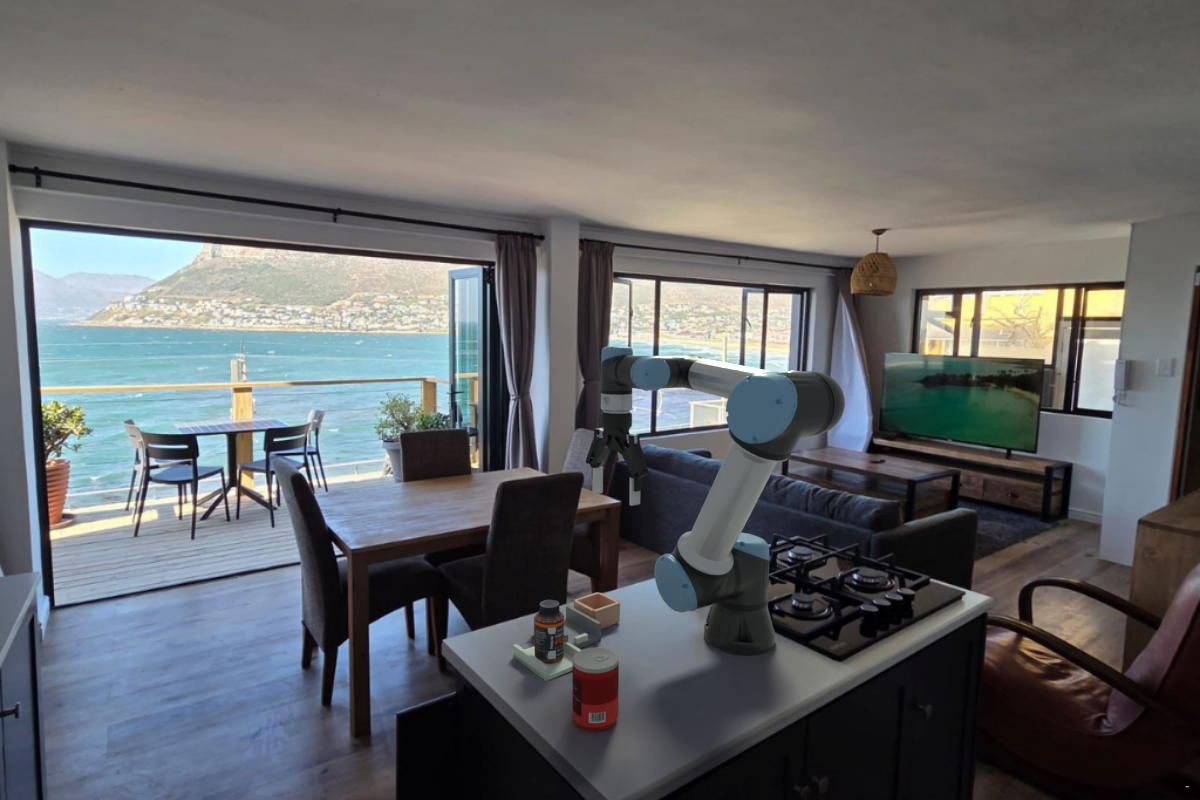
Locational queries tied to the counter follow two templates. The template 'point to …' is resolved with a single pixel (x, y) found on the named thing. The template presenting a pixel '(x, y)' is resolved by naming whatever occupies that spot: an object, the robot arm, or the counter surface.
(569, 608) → the checker cradle
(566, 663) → the trough
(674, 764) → the counter surface
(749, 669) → the counter surface
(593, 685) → the canned food
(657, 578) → the robot arm
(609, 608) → the open cardboard box
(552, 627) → the supplement bottle
